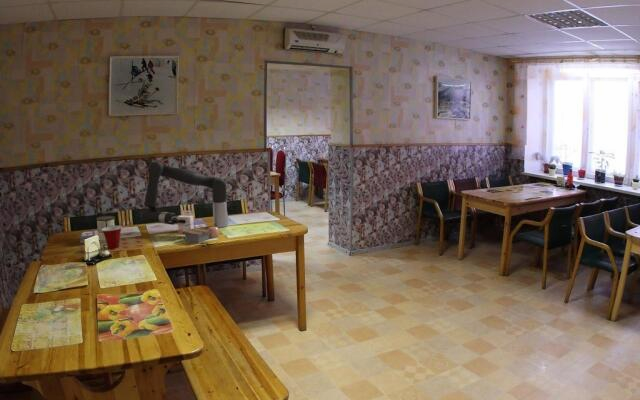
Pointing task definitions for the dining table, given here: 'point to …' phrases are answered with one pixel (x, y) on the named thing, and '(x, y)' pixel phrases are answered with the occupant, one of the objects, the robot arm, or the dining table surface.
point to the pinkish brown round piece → (213, 232)
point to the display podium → (196, 235)
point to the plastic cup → (112, 236)
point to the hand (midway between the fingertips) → (188, 220)
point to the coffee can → (104, 225)
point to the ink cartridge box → (189, 221)
